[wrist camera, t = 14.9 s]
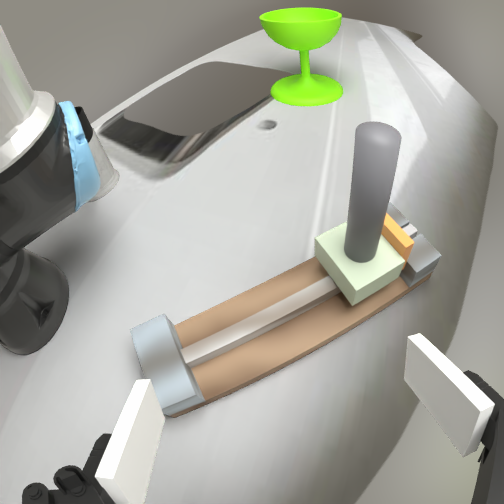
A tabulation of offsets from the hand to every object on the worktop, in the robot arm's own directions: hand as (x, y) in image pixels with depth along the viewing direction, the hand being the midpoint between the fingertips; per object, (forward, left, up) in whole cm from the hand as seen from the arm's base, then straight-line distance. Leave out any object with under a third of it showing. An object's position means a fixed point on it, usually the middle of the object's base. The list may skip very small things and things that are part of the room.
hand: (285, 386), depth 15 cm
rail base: (-10, +5, -16) cm, 19 cm away
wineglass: (-53, +34, -16) cm, 65 cm away
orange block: (-10, +19, -12) cm, 24 cm away
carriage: (-10, +13, -12) cm, 20 cm away
